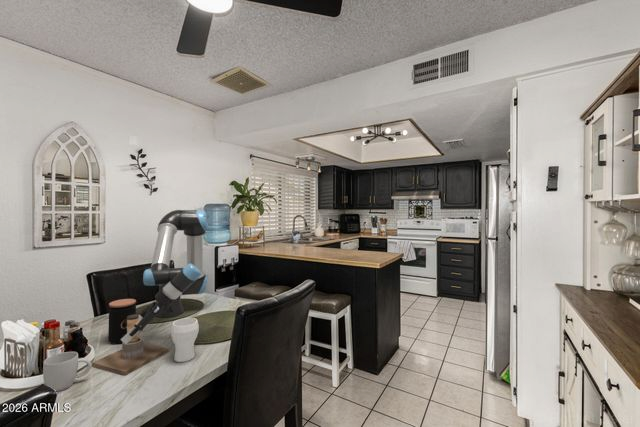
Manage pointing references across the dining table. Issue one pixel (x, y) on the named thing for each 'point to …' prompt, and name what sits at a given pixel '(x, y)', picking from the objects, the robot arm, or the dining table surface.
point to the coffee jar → (119, 319)
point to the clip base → (131, 363)
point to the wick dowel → (130, 324)
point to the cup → (184, 338)
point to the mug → (63, 370)
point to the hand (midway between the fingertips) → (126, 335)
